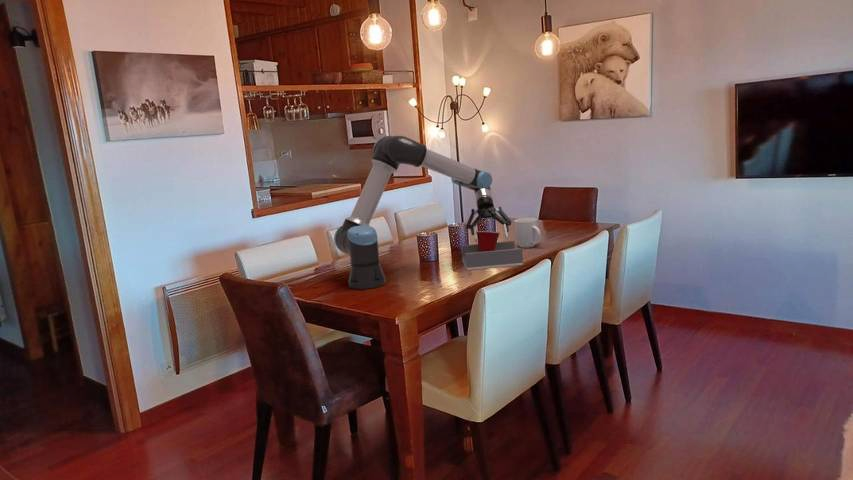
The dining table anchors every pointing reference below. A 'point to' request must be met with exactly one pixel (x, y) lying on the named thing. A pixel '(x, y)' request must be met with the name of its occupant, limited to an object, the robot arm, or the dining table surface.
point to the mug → (527, 232)
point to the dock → (492, 256)
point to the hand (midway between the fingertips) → (491, 239)
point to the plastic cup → (487, 240)
